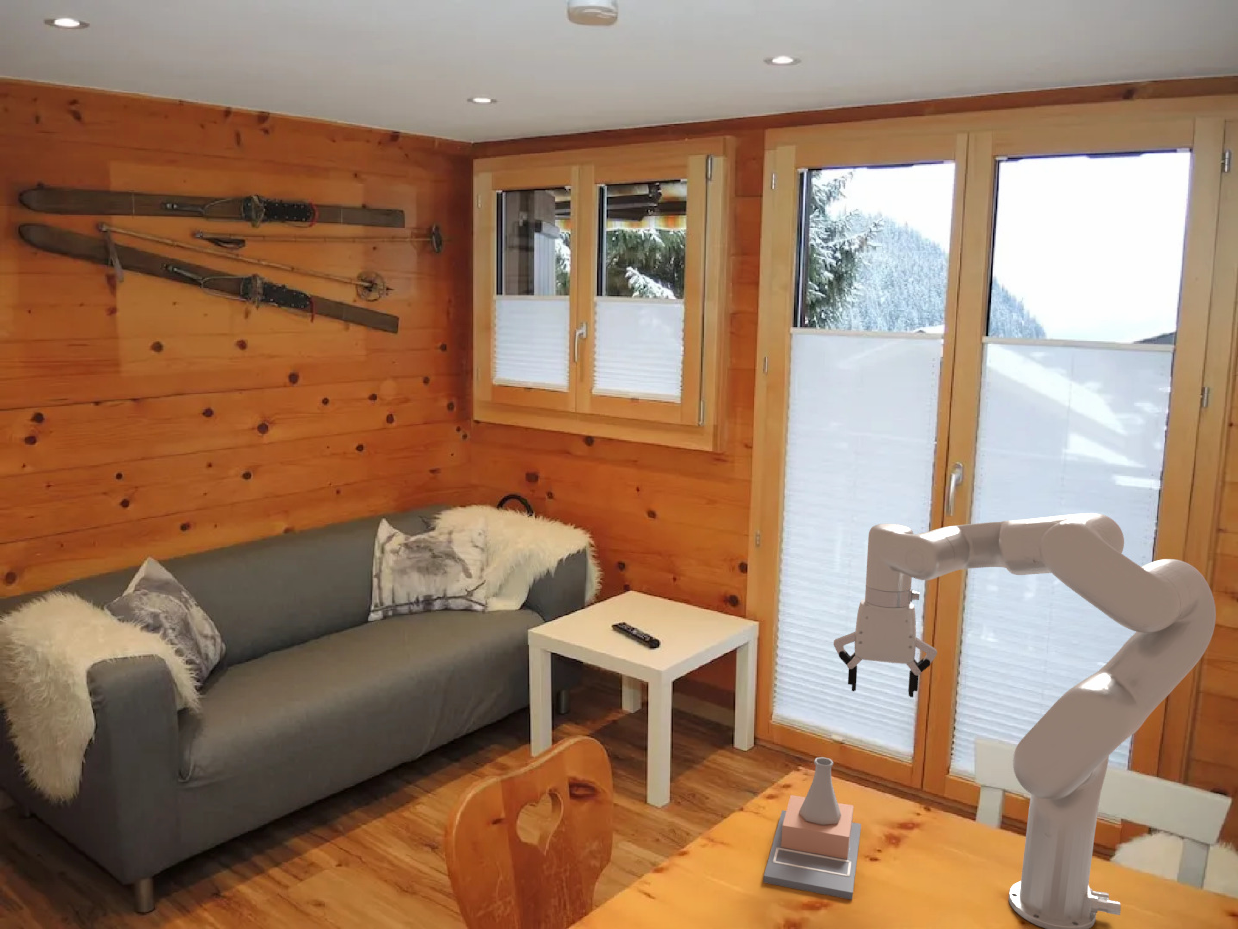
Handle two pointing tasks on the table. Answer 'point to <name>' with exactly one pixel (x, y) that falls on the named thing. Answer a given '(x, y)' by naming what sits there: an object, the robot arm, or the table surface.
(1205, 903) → the table surface
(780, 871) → the build base
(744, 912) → the table surface
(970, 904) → the table surface
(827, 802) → the flask
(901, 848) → the table surface
